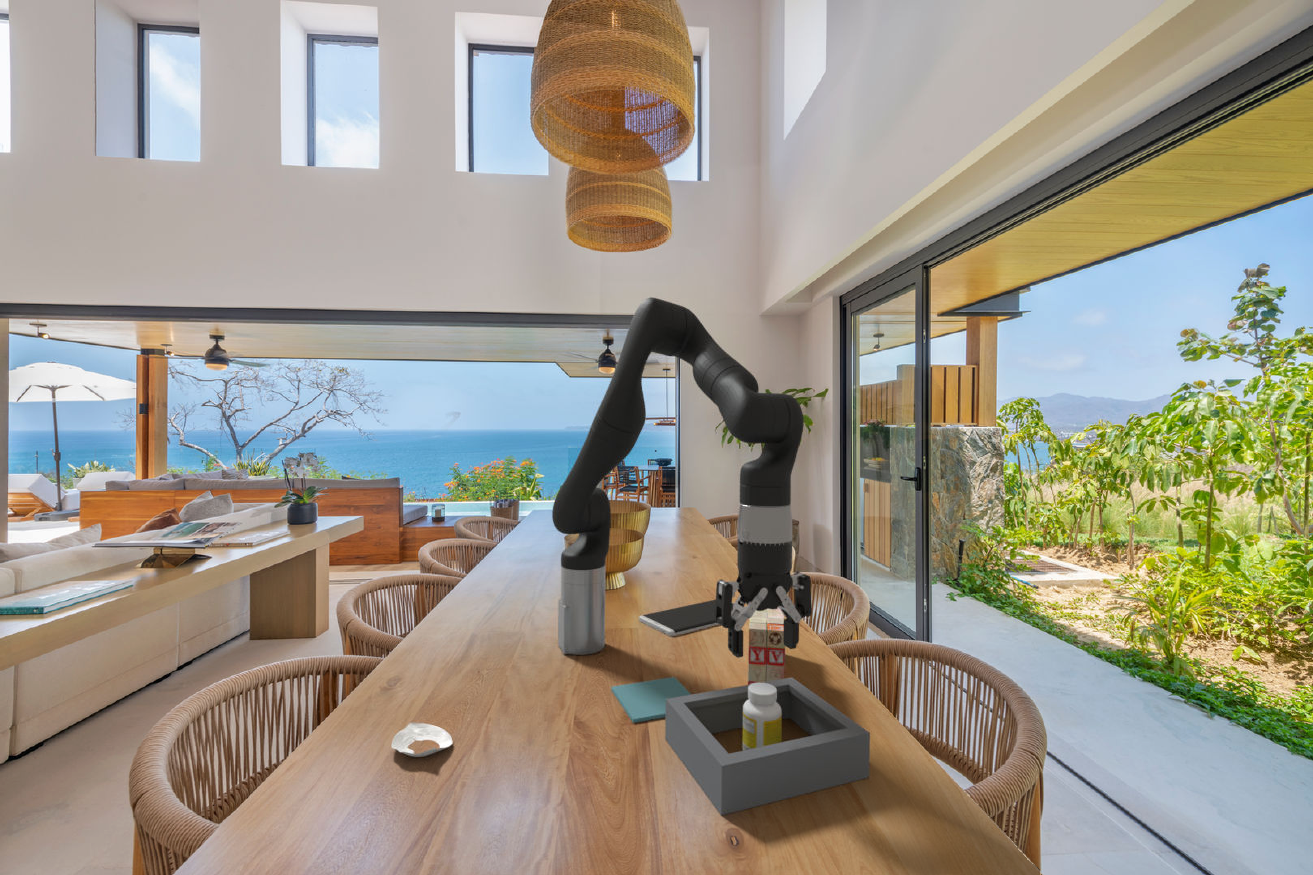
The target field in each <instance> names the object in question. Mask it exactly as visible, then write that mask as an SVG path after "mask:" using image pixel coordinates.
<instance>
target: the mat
mask: <svg viewBox="0 0 1313 875" xmlns="http://www.w3.org/2000/svg"><path fill="white" fill-rule="evenodd" d="M610 688H611V690H610V691H611V692H612V693H613V695H614V696H615V699H616V700H617V701H618V702H619V705H621V707H622V708H623V710H624V712H625V713H626V715H627V716H628V717H629V719H630V720H631V722H632V723H633V724H635V723H640V722H646V721H651V719H653V720H657V719H658V720H659V719H662V718H663V717H664V718H666V699H669V698H675V697H680V696H686V695H692V693H690V692H689V691H688V689H687V688H686V687H685V686H684V685H683V684H682V683H681V682H680V680H678V679H677V678H676V677H675V676H671V677H664V678H657V679H652V680H645V681H638V682H633V683H626V684H619V685H613V686H611V687H610Z"/></svg>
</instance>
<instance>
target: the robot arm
mask: <svg viewBox="0 0 1313 875" xmlns="http://www.w3.org/2000/svg"><path fill="white" fill-rule="evenodd" d="M652 353H655V354H659V355H661V356H665V357H666V356H667V357H675V358H678V359H680V360H682V361H684V362H686V363H687V364H689V365H690V366H691V367H692V375H693V379H694V381H695V384H696V385H697V387H698V388H699V389H700V390H701V392H702V393H703V394H705V396H706V397H707V398H709V399H710V401H711V402H712V403H713V404H714V405H716V406H717V409H718V410H719V413H720V416H721V418H722V420H723V422H724V424H725V427H726V428H727V430H728V433H729V434H731V435H732V436H733V437H734V438H735V439H737V440H739V441H740V442H743V443H746V444H756V445H757V444H764V445H763V447H762V450H761V453H760V456H759V457H758V458H756V459H753V460H751V461H747V462H745V463H744V464H743V465H742V466H741V468H740V471H739V509H738V516H737V555H736V556H737V564H736V566H737V569H738V570H737V571H738V575H737V578H736V580H732V581H730V580H729V581H726V580H724V579H718V580H717V582H716V588H715V589H716V590H715V600H716V603H715V621H716V622H717V623H719V624H720V626H721V627H723V628H724V629H727V647H728V650H729V651H730V652H731V654H732V655H733V656H734V657H735V658H737V659H738V658H743V657H744V630H742V629H743V627H744V626H745V624H746V622H747V621H748V619H750V618H751V617H752V615H753V614H754V612H755V611H756V610H757V611H763V610H766V609H778V608H779V609H780V610H781V611H782V613H783V615H784V645H785V648H789V649H790V650H794V649H797V645H798V644H799V641H800V622H801V621H802V619H804V618H809V617H811V616H812V614H813V608H812V586H811V585H812V583H811V581H812V580H811V576H810V575H807V574H806V573H802V572H800V571H795V572H794V573H793V574H791V571H792V568H793V515H792V505H791V504H792V497H791V495H792V494H791V493H792V490H791V489H792V486H791V485H792V479H791V478H792V471H793V470H794V465H795V463H796V459H797V455H798V452H799V448H800V444H801V441H802V436H803V432H804V426H805V424H804V422H805V421H804V413H803V410H802V408H801V405H800V403H799V401H798V400H797V399H796V398H795V397H794V396H792V395H790V394H787V393H773V392H771V393H770V392H769V393H768V392H759V382H758V381H757V379H756V377H755V376H754V375H753V374H752V372H750V371H749V370H748V369H747V368H746V367H744V366H743V365H742V364H741V363H740V362H739V361H737V360H736V359H734V358H733V357H732V356H731V355H730V354H728V353H727V352H726V351H725V350H724V349H723V348H722V347H721V346H720V345H719V344H718V343H717V342H716V340H715V339H714V337H712V335H711V334H710V333H709V332H708V330H707V329H706V328H705V326H704V325H703V323H702V322H701V320H700V319H699V318H698V316H697V315H696V314H695V313H693V312H692V311H691V310H690V309H689V308H687V307H685V306H683V305H680V304H676V303H673V302H671V301H667V300H663V299H661V298H657V297H647V298H645V299H644V300H643V301H641V303H640V304H639V305H638V307H637V309H636V310H635V312H634V314H633V317H632V319H631V322H630V325H629V326H628V330H627V334H626V337H625V340H624V342H623V346H622V349H621V352H620V354H619V358H618V361H617V363H616V367H615V369H614V372H613V374H612V378H611V379H610V381H609V384H608V387H607V388H606V391H605V394H604V396H603V398H602V400H601V402H600V404H599V406H598V408H597V411H596V413H595V416H594V417H593V421H592V423H591V425H590V428H589V431H588V433H587V436H586V438H585V441H584V443H583V444H582V447H581V448H580V451H579V453H578V456H577V457H576V460H575V462H574V464H573V466H572V467H571V470H570V472H569V473H568V475H567V477H566V478H565V481H564V482H563V484H562V485H561V486H560V488H559V491H558V493H557V494H556V496H555V499H554V501H553V505H552V511H551V512H552V514H551V515H552V517H551V518H552V519H551V520H552V523H553V526H554V527H555V529H556V531H558V532H559V533H561V534H563V535H578V536H577V538H576V539H575V541H574V542H573V543H572V544H571V545H569V546H568V547H567V548H565V549H564V550H562V552H561V554H560V598H559V599H558V601H557V602H558V605H557V606H558V610H557V613H558V614H557V624H558V625H557V626H558V627H557V645H558V647H559V648H560V651H562V654H563V655H580V656H583V655H591V654H596V653H598V652H599V653H600V652H601V651H603V649H604V648H605V646H606V644H605V643H606V642H605V641H606V634H605V633H606V560H607V555H608V552H609V549H610V538H611V537H610V536H611V535H610V534H611V522H612V521H611V520H612V519H611V518H612V517H611V515H612V510H611V502H610V499H609V497H608V494H607V493H606V492H605V491H604V490H603V489H602V488H599V487H598V486H599V484H600V483H601V482H602V480H603V479H604V478H605V477H607V475H608V474H610V473H611V472H612V471H613V470H614V469H616V467H618V466H619V465H620V464H621V463H622V462H623V461H624V460H625V459H626V458H627V456H629V454H631V452H632V451H633V448H634V447H635V445H636V444H637V441H638V439H639V437H640V434H641V432H642V431H643V428H644V426H645V424H646V419H647V418H646V417H647V414H646V413H647V411H646V403H645V398H644V392H643V384H642V382H643V381H642V380H643V379H642V378H643V373H644V370H645V366H646V364H647V361H648V359H649V356H650V355H651V354H652ZM791 588H793V594H794V596H793V597H794V602H793V601H792V599H791V598H790V597H789V595H788V593H789V591H791ZM736 592H738V593H739V595H738V596H737V599H736V600H735V602H733V598H734V597H735V596H736ZM732 602H733V603H734V605H733V610H732V612H731V609H732ZM745 605H746V606H745ZM744 607H745V608H744Z"/></svg>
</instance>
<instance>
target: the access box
mask: <svg viewBox="0 0 1313 875" xmlns="http://www.w3.org/2000/svg"><path fill="white" fill-rule="evenodd" d="M762 683H767V684H771V685H773V686H774V687H775V688H776V689H777V700H776V702H777V703H778V704H779V705H780V707H781V712H782V719H783V720H786V719H787V720H788V719H790V720H791V721H792V722H794V723H795V724H796V725H797V726H798V727H800V728H801V729H802V730H803V731H804V732H806V733H807V734H808V735H809V736H806V737H800V738H796V739H790V740H786V741H782V742H781V743H776V744H772V745H767V746H763V747H758V748H753V749H749V750H744V751H743V750H741V751H735V752H731V753H729V752H728V751H727V750H726V749H725V747H723V745H721V743H720V742H719V741H718V740H717V739H716V738H715V736H713V734H717V732H718V733H722V732H727V731H731V730H737V729H741V728H742V729H743V705H744V703H745V702H746V701H747V700H748V699H749V698H748V687H749V685H748V684H746V685H740V686H734V687H728V688H727V687H726V688H723V689H717V690H710V691H706V692H700V693H693V694H692V693H691V695H686V696H680V697H675V698H669V699H666V717H664V718H665V719H664V720H665V727H664V728H665V729H664V730H665V732H664V733H665V734H664V735H665V736H664V738H665V741H666V742H667V744H668V745H669V746H670V747H671V750H673V752H674V754H676V756H677V757H678V758H680V759H679V760H680V761H681V763H682V762H683V763H682V764H683V765H684V767H685V768H686V770H687V771H688V773H689V774H690V775H691V776H692V778H693V779H694V780H695V782H696V783H697V784H698V786H699V787H700V789H701V790H702V791H703V793H704V794H705V796H706V797H707V798H708V800H710V802H711V803H712V805H713V807H714V808H715V809H716V811H718V813H719V814H720V816H724V815H728V814H729V815H730V814H733V813H737V812H739V811H744V810H747V809H752V808H757V807H760V806H764V805H767V804H771V803H774V802H779V801H783V800H787V799H790V798H794V797H799V796H802V795H806V794H809V793H815V792H817V791H821V790H825V789H829V788H833V787H837V786H841V785H845V784H849V783H853V782H857V781H860V780H865V779H868V778H870V755H871V754H870V748H871V746H870V743H871V732H870V731H868V730H867V729H865V728H864V727H862V726H861V724H858V723H857V722H856V721H854V720H853V719H851V718H850V717H848V716H847V715H846V714H844V713H843V712H841V711H840V710H839V709H837V708H836V707H834V706H833V705H832V704H830V703H829V702H827V700H825V699H823V698H821V697H820V696H819V695H817V694H816V693H814V691H812V690H810V689H809V688H807V687H806V686H804V685H803V684H802V683H801V682H799V681H798V680H796V679H795V678H794V677H785V678H784V679H780V680H774V681H768V682H762Z"/></svg>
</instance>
